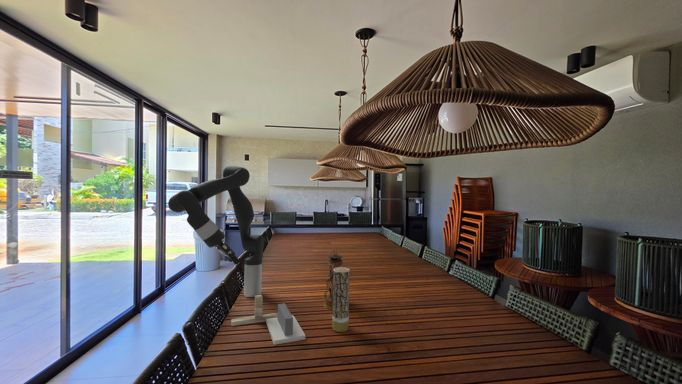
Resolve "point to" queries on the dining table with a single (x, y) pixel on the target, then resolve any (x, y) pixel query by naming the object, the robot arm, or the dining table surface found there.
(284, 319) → the ridge stand
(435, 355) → the dining table surface
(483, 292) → the dining table surface
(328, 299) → the lantern
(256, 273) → the robot arm
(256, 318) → the birch T-bar
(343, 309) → the bark print canister
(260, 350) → the dining table surface
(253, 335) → the dining table surface
